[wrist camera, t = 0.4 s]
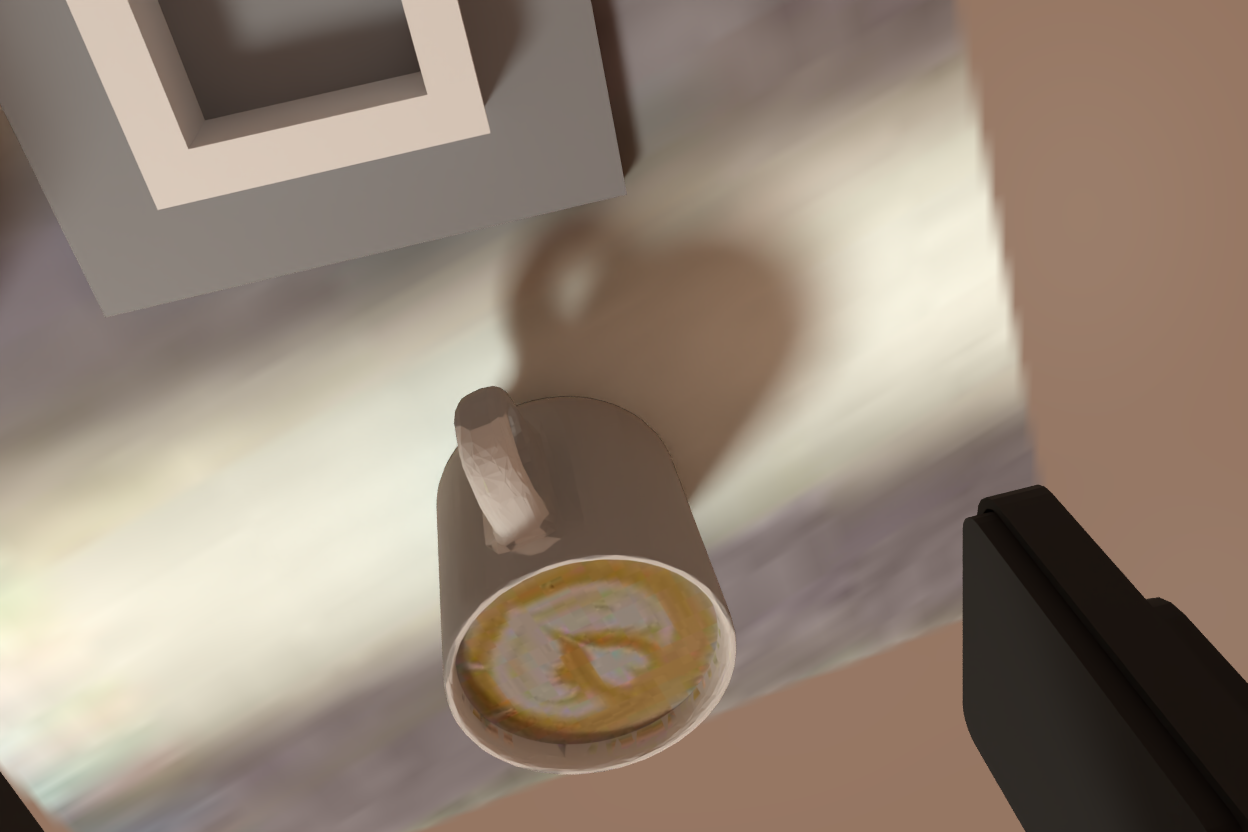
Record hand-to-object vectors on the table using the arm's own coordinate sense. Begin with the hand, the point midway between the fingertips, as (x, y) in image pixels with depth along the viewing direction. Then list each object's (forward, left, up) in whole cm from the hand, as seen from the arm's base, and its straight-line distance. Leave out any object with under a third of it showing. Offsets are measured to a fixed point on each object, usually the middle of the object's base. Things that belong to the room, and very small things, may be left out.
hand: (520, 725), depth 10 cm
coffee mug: (+17, 0, -29) cm, 33 cm away
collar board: (-3, -4, -29) cm, 29 cm away
